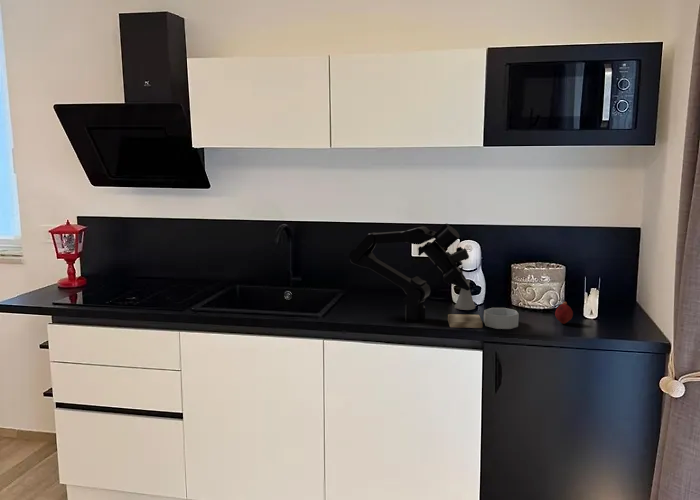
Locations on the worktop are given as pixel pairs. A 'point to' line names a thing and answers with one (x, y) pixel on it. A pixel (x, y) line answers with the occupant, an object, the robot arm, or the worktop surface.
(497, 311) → the collar
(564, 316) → the onion
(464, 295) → the flask
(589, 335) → the worktop surface
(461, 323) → the oak board
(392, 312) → the worktop surface
